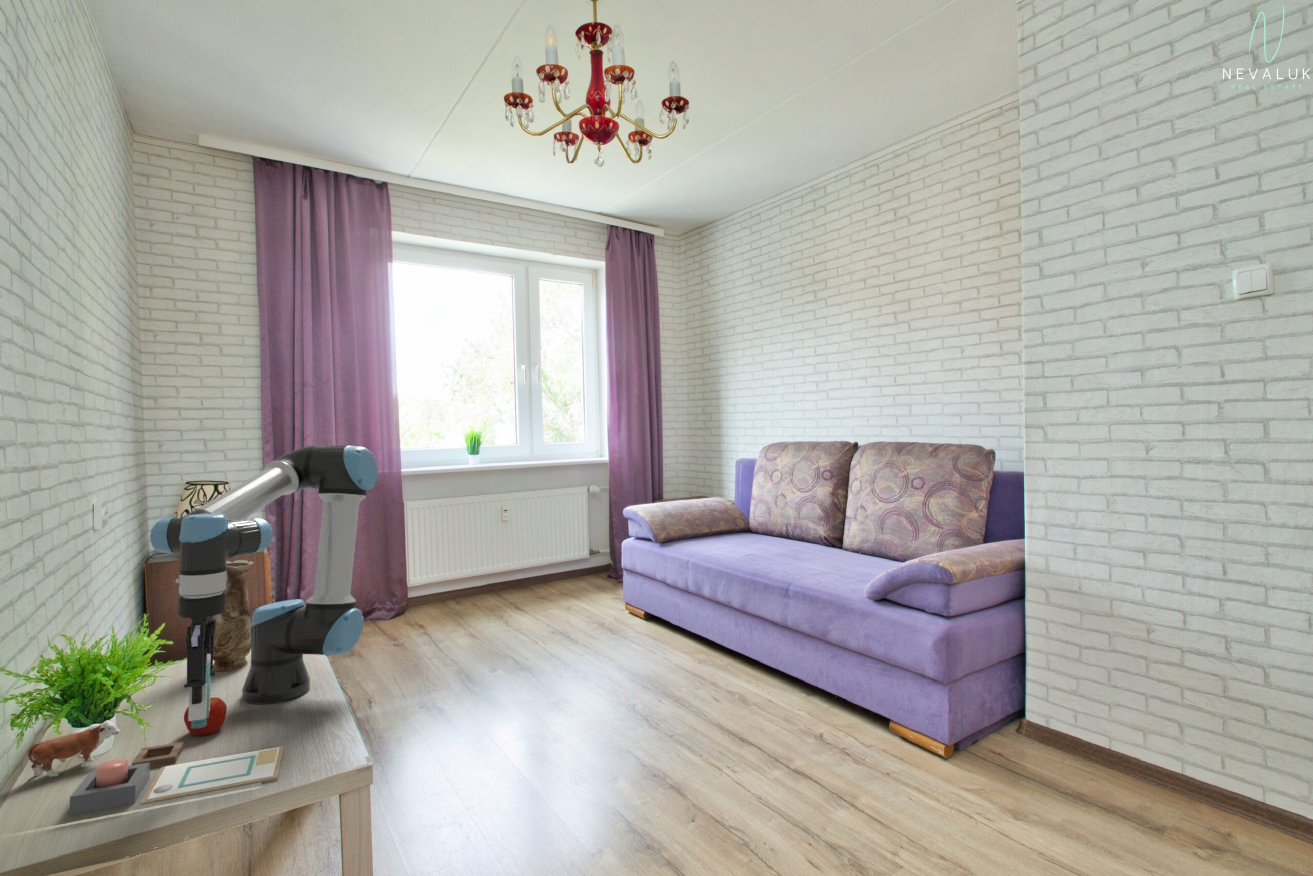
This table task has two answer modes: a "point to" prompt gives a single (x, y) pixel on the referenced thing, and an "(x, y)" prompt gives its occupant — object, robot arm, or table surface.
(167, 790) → the colouring sheet
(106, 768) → the button
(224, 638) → the vase
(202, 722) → the marker
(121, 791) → the button housing
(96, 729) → the bull figurine
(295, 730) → the table surface
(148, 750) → the marker holder
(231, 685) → the table surface
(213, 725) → the apple
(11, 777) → the table surface
